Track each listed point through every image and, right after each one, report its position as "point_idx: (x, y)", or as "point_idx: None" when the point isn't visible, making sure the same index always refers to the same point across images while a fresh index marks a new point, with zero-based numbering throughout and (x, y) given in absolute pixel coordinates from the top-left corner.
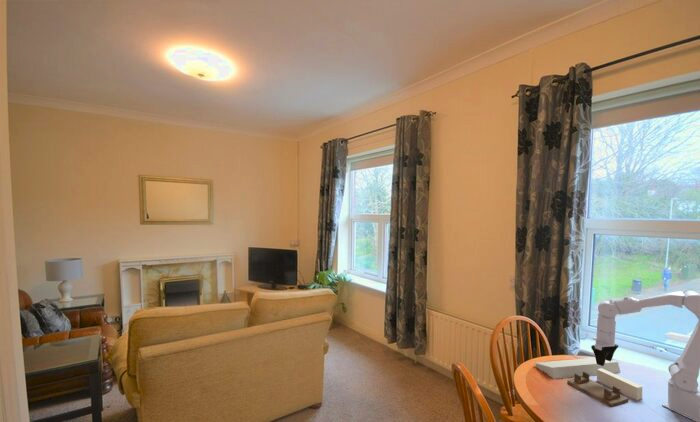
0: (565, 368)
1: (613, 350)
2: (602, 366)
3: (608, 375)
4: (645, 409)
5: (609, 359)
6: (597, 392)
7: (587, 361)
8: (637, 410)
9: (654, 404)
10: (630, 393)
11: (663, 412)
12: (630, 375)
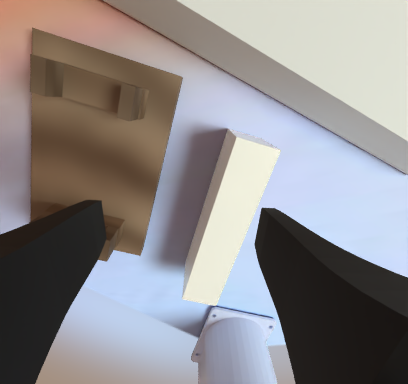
0: None
1: (297, 374)
2: (363, 127)
3: (216, 195)
4: (141, 284)
5: (259, 249)
6: (67, 176)
7: (388, 32)
8: (109, 273)
9: None
10: (190, 252)
11: (172, 311)
12: (405, 206)
